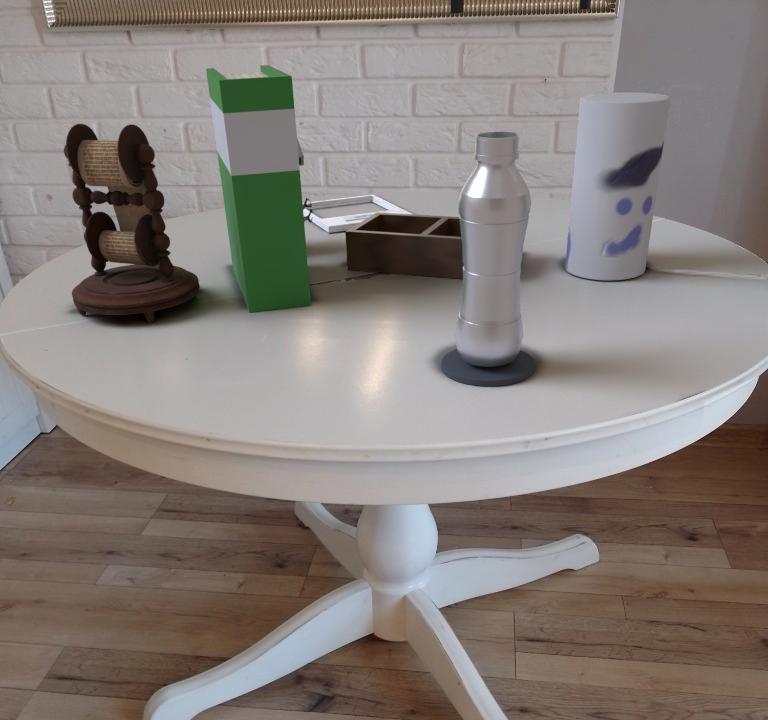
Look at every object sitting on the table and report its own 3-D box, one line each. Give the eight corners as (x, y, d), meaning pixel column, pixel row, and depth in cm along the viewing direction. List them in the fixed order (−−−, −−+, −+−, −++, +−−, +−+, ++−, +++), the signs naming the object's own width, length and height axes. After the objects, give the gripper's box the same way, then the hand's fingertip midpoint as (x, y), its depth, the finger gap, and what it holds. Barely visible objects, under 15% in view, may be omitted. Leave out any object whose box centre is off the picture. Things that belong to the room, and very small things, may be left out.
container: (608, 287, 96) (631, 103, 86) (548, 269, 103) (562, 96, 92) (661, 270, 101) (689, 94, 90) (600, 254, 108) (619, 89, 97)
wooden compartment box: (521, 258, 108) (523, 220, 105) (500, 282, 99) (502, 241, 97) (377, 248, 115) (376, 212, 112) (347, 269, 106) (345, 231, 103)
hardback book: (233, 271, 107) (205, 68, 94) (287, 265, 109) (267, 65, 96) (249, 312, 93) (218, 80, 80) (311, 305, 94) (291, 76, 81)
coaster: (543, 355, 79) (543, 349, 79) (522, 391, 72) (523, 385, 72) (456, 345, 82) (456, 340, 82) (428, 379, 75) (428, 373, 75)
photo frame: (328, 225, 122) (294, 202, 136) (328, 232, 123) (294, 209, 137) (414, 213, 126) (373, 193, 140) (414, 221, 127) (373, 199, 141)
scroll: (223, 292, 100) (198, 115, 89) (157, 332, 88) (119, 136, 77) (125, 283, 104) (89, 114, 93) (50, 321, 93) (-1, 133, 82)
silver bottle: (452, 374, 74) (455, 141, 64) (456, 347, 80) (460, 129, 69) (521, 376, 74) (537, 140, 63) (521, 348, 79) (535, 128, 68)
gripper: (678, -273, 72) (644, 6, 83) (415, -239, 79) (417, 13, 91) (675, -295, 66) (638, 8, 77) (390, -256, 73) (396, 15, 85)
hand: (519, 11), depth 84 cm, fingers open, 13 cm apart
